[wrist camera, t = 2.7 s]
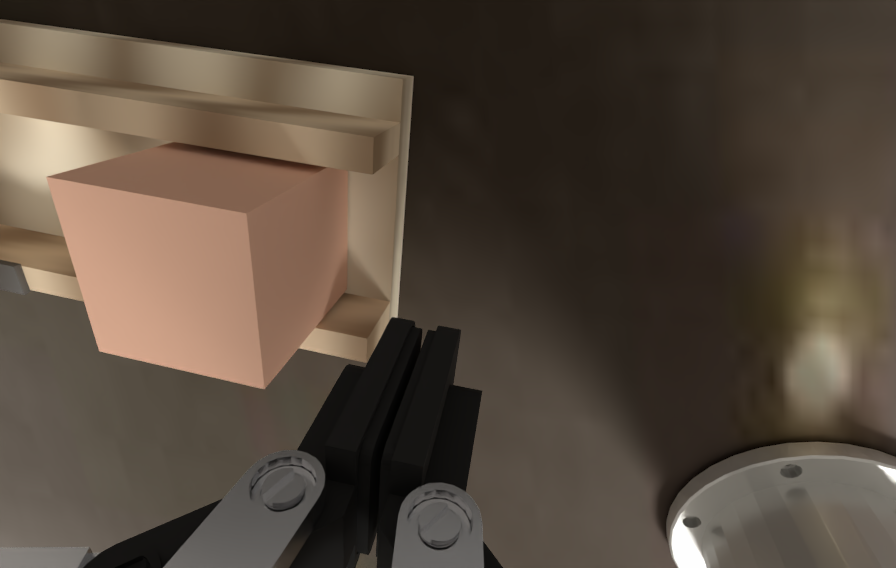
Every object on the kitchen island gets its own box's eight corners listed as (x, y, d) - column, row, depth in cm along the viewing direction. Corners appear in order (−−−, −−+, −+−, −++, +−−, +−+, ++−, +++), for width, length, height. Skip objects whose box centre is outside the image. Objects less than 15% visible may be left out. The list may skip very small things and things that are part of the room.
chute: (413, 76, 18) (371, 87, 14) (396, 333, 24) (363, 395, 20) (-107, 4, 21) (-271, -5, 17) (-11, 248, 27) (-116, 287, 23)
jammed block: (347, 155, 18) (246, 213, 12) (347, 288, 21) (264, 389, 15) (207, 132, 19) (46, 176, 13) (224, 264, 22) (99, 351, 16)
